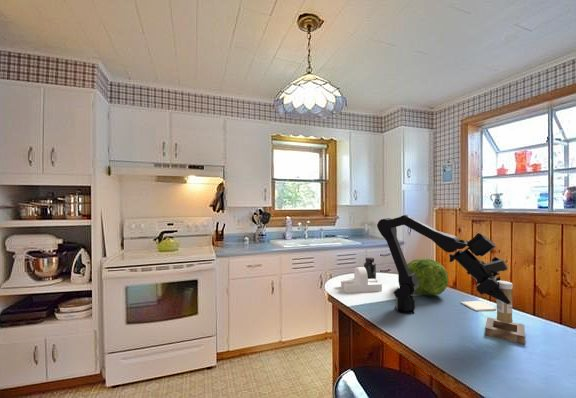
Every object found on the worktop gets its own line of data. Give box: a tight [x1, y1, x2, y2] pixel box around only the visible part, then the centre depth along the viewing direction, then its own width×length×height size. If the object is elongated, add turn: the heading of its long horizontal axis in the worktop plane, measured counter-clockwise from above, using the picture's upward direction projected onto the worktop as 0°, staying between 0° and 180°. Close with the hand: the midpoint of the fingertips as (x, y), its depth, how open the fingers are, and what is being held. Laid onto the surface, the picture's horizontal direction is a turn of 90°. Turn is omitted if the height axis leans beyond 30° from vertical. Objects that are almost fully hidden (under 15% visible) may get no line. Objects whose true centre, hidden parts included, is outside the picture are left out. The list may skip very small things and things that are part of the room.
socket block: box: [484, 317, 526, 345], centre depth 100 cm, size 11×11×2 cm
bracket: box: [340, 266, 383, 294], centre depth 150 cm, size 19×10×11 cm, turn 95°
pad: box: [460, 300, 497, 312], centre depth 125 cm, size 9×9×1 cm
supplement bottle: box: [363, 257, 377, 280], centre depth 168 cm, size 7×7×12 cm
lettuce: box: [407, 258, 449, 297], centre depth 143 cm, size 17×23×17 cm
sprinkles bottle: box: [496, 280, 514, 323], centre depth 100 cm, size 5×5×14 cm
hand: (509, 301), depth 99 cm, fingers closed on sprinkles bottle, 4 cm apart
